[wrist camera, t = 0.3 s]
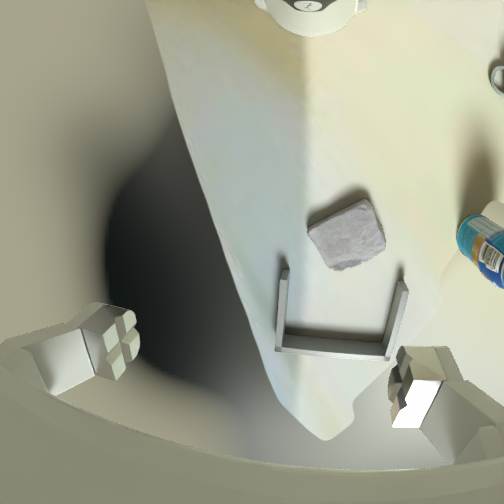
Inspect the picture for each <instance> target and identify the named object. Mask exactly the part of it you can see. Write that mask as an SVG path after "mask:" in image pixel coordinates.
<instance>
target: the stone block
mask: <svg viewBox="0 0 504 504" xmlns="http://www.w3.org/2000/svg"><path fill="white" fill-rule="evenodd" d="M307 233H308V236H309V237H310V239H311V240H312V241H313V243H314V244H315V245H316V247H317V249H318V251H319V252H320V254H321V256H322V258H323V260H324V262H325V264H326V265H327V267H328V268H330V269H333V270H334V271H343V270H344V269H346V268H348V267H354V266H358V265H360V264H362V263H364V262H366V261H368V260H370V259H372V258H373V257H374V256H377V255H378V254H379V253H381V252H382V251H383V250H385V247H386V240H385V236H384V233H383V228H382V225H381V224H380V223H379V221H378V219H377V218H376V217H375V213H374V209H373V207H372V205H371V204H370V203H369V201H368V200H366V199H362V200H360V201H358V202H356V203H354V204H352V205H350V206H348V207H346V208H344V209H342V210H340V211H338V212H336V213H334V214H332V215H331V216H329V217H327V218H325V219H323V220H321V221H319V222H317V223H315V224H313V225H311V226H310V227H309V228H308V231H307Z"/></svg>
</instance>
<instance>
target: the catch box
mask: <svg viewBox="0 0 504 504" xmlns="http://www.w3.org/2000/svg"><path fill="white" fill-rule="evenodd" d="M289 274H290V270H288V269H283V271H282V274H281V278H280V286H279V301H278V315H277V329H276V342H275V351H276V352H284V353H293V354H302V355H311V356H321V357H332V358H344V359H357V360H373V361H390V357H391V354H392V351H393V348H394V345H395V342H396V338H397V335H398V331H399V328H400V324H401V321H402V317H403V314H404V310H405V306H406V302H407V298H408V294H409V290H408V288H407V286H406V284H405V282H404V280H398V281H397V285H396V290H395V294H394V298H393V303H392V307H391V311H390V315H389V319H388V323H387V327H386V330H385V334H384V338H383V341H382V343H379V342H364V341H351V340H339V339H328V338H318V337H308V336H299V335H290V334H285V323H286V311H287V299H288V287H289Z"/></svg>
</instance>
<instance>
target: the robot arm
mask: <svg viewBox="0 0 504 504" xmlns="http://www.w3.org/2000/svg"><path fill="white" fill-rule="evenodd" d="M254 1H255V5H256V6H257V7H259V8H260V9H262V10H264V11H266V12H268V13H269V14H270V15H271V16H272V17H273V18H274V20H275V21H276V22H277V23H278V24H279V25H280V26H282V27H283V28H284V29H286V30H288V31H290V32H292V33H295V34H298V35H302V36H308V37H319V36H326V35H329V34H332V33H335V32H337V31H339V30H340V29H342V28H343V27H344V26H345V25H346V24H347V23H348V22H349V21H350V19H351V18H352V17H353V16H355V15H357V14H360V13H362V12H364V11H365V10H366V9H367V3H366V0H360V1H358V0H254ZM135 324H136V318H135V313H133V312H132V311H131V310H127V309H123V308H119V307H115V306H111V305H106V304H103V303H98V302H92V303H91V304H90V305H88V306H87V307H86V308H85V309H83V310H82V311H81V312H80V313H78V314H77V315H76V316H75V317H74V318H72V319H71V320H70V321H69V322H67V323H66V324H64V323H61V324H58V325H54V326H50V327H47V328H44V329H40V330H37V331H33V332H30V333H26V334H23V335H19V336H16V337H12V338H9V339H6V340H5V341H3V342H2V343H1V344H0V504H504V407H503V406H502V405H501V404H499V403H498V402H496V401H495V400H494V399H493V398H491V397H490V396H488V395H487V394H486V393H484V392H483V391H482V390H480V389H479V388H477V387H476V386H475V385H474V384H472V383H471V382H469V381H468V380H466V381H464V380H463V377H462V375H461V373H460V371H459V368H458V366H457V364H456V362H455V360H454V357H453V355H452V353H451V351H450V349H449V348H448V347H447V346H432V347H422V346H421V347H420V346H401V347H400V348H399V350H398V353H397V356H396V359H397V365H396V366H395V367H394V368H392V370H391V373H390V376H389V381H388V398H389V400H390V401H391V402H392V403H393V405H392V407H391V410H390V411H391V417H392V425H393V427H419V429H420V430H421V431H422V432H423V433H424V435H425V436H426V437H427V438H428V439H429V441H430V442H431V443H432V444H433V446H434V447H435V448H436V449H437V451H438V452H439V453H440V454H441V456H442V457H443V458H444V459H445V460H446V461H447V463H448V464H449V466H441V467H431V468H419V469H404V470H339V469H322V468H309V467H299V466H290V465H282V464H275V463H268V462H261V461H255V460H250V459H244V458H238V457H234V456H228V455H224V454H219V453H215V452H211V451H206V450H202V449H198V448H194V447H190V446H187V445H183V444H179V443H175V442H172V441H169V440H166V439H162V438H159V437H156V436H153V435H150V434H147V433H143V432H141V431H138V430H135V429H132V428H129V427H126V426H124V425H121V424H118V423H116V422H113V421H111V420H108V419H106V418H103V417H101V416H98V415H96V414H93V413H91V412H89V411H86V410H84V409H82V408H80V407H77V406H75V405H73V404H71V403H69V402H67V401H64V400H62V399H60V398H58V397H56V395H58V394H60V393H62V392H64V391H66V390H68V389H70V388H72V387H74V386H76V385H78V384H80V383H82V382H84V381H85V380H88V379H90V378H91V377H93V376H95V375H98V376H101V377H104V378H107V379H111V380H114V381H116V380H117V379H118V378H119V377H120V376H121V374H122V373H123V372H124V371H125V369H126V364H125V363H127V362H130V361H132V360H133V359H134V358H135V357H136V355H137V353H138V350H139V347H140V338H139V334H138V332H137V331H136V330H135V328H134V325H135Z"/></svg>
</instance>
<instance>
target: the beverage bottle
mask: <svg viewBox="0 0 504 504" xmlns="http://www.w3.org/2000/svg"><path fill="white" fill-rule="evenodd" d="M457 244H458V247H459V249H460V251H461V252H462V254H464V255H465V256H466V257H467V258H469V259H470V260H471V261H472V262H473V263H474V264H475V265H476V266H477V267H478V268H479V270H480V272H481V273H482V275H483V276H484V277H486V278H487V279H488V280H489V281H490V282H491V283H492V284H493V285H495V286H497V287H499V288H502V289H504V228H502V227H500V226H498V225H497V224H495V223H494V222H492V221H490V220H489V219H488V218H486V217H485V216H482V215H478V214H476V215H471V216H469V217H467V218H466V219H465V220H464V221H463V222H462V224H461V225H460V227H459V229H458V233H457Z"/></svg>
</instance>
